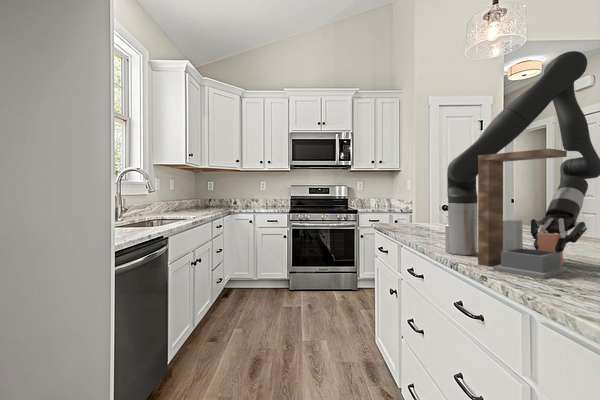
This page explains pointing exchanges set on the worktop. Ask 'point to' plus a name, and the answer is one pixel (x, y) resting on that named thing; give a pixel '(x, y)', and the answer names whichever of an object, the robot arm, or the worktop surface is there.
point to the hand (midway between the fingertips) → (547, 249)
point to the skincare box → (512, 234)
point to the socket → (530, 263)
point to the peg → (549, 243)
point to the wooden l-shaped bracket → (497, 199)
